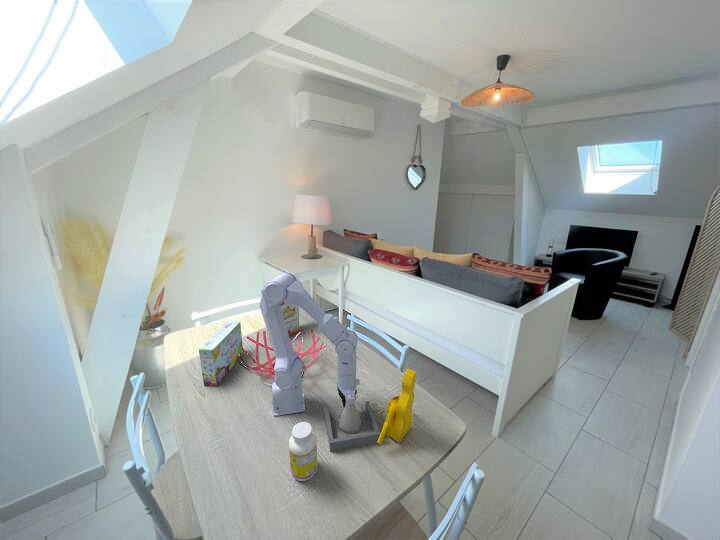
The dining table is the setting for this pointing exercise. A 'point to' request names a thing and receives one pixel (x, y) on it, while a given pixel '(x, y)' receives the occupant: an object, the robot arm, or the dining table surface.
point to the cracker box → (290, 317)
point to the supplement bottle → (303, 452)
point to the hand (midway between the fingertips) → (346, 406)
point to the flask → (350, 419)
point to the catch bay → (355, 439)
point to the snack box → (221, 353)
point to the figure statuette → (400, 410)
